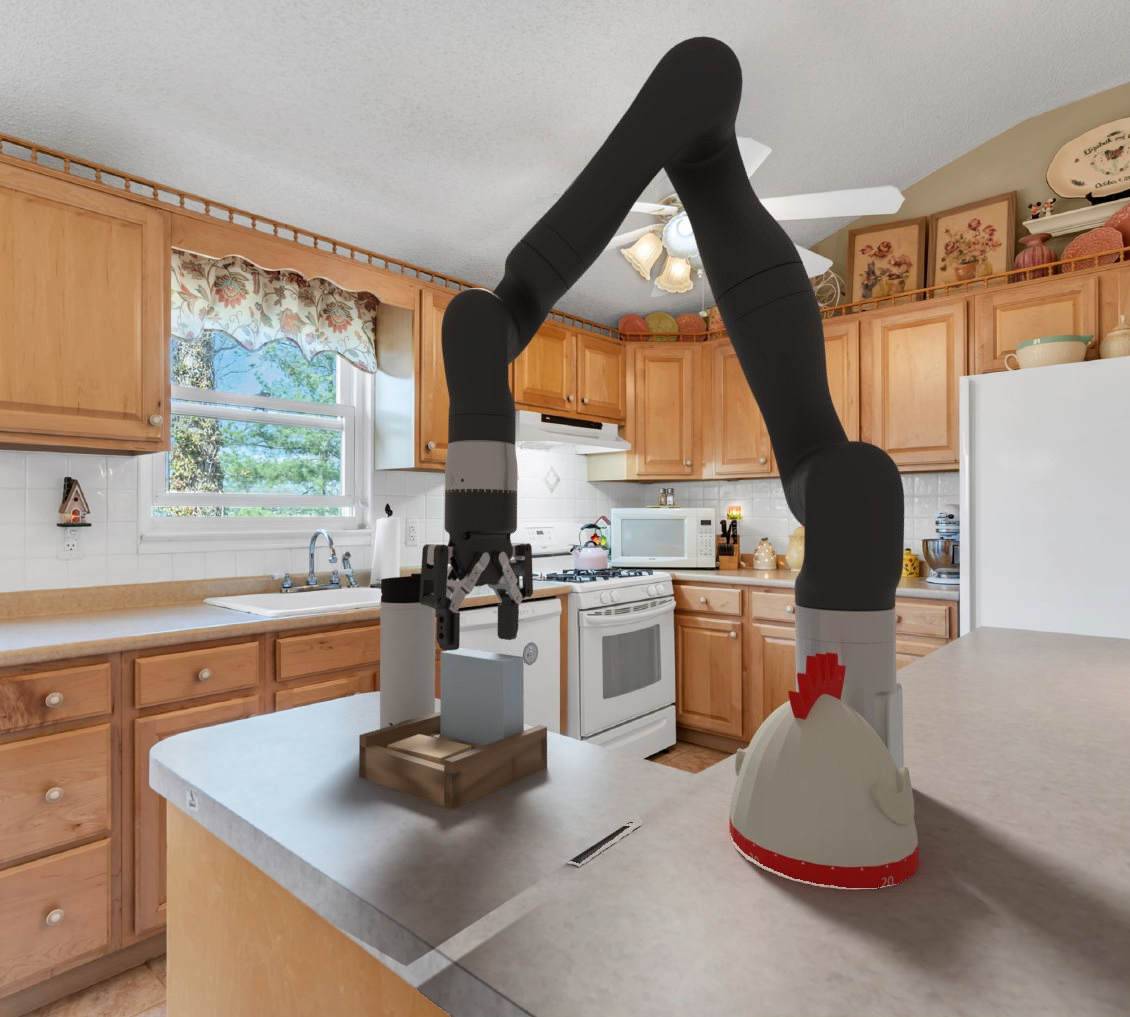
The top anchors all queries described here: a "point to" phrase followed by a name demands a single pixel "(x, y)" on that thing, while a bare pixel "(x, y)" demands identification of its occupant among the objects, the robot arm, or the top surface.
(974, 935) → the top surface
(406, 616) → the travel mug
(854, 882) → the kitchen timer
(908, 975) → the top surface
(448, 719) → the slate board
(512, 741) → the rack
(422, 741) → the offcut upper
